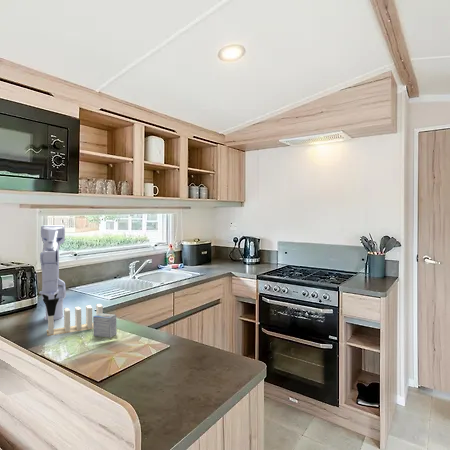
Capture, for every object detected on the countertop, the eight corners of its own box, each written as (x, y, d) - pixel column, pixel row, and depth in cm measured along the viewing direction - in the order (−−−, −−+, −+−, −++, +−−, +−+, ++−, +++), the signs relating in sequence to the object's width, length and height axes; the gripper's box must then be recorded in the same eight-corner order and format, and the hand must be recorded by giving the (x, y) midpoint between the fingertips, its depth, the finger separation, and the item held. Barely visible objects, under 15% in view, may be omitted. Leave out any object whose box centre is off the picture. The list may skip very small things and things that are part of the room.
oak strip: (46, 332, 139) (46, 330, 139) (106, 322, 151) (106, 320, 151) (47, 338, 132) (47, 336, 132) (110, 327, 144) (110, 325, 144)
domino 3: (75, 326, 143) (75, 307, 143) (79, 325, 144) (79, 306, 144) (76, 330, 139) (76, 309, 139) (81, 329, 140) (81, 309, 140)
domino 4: (86, 324, 145) (85, 305, 145) (90, 324, 146) (90, 305, 146) (87, 328, 141) (87, 308, 141) (92, 327, 142) (92, 307, 142)
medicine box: (117, 335, 135) (116, 314, 134) (110, 339, 130) (110, 317, 130) (100, 333, 137) (99, 312, 137) (93, 337, 133) (92, 316, 132)
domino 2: (64, 328, 141) (63, 308, 141) (69, 327, 142) (68, 307, 142) (65, 331, 137) (65, 311, 136) (70, 331, 138) (69, 310, 137)
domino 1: (48, 330, 138) (47, 310, 138) (53, 330, 139) (52, 309, 139) (48, 334, 134) (48, 313, 133) (53, 333, 135) (53, 313, 134)
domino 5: (96, 323, 148) (96, 304, 147) (100, 322, 148) (100, 303, 148) (98, 326, 143) (98, 306, 143) (103, 325, 144) (102, 306, 144)
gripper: (38, 278, 140) (39, 310, 140) (39, 284, 127) (40, 319, 128) (57, 276, 143) (57, 307, 144) (59, 282, 131) (60, 316, 131)
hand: (50, 313), depth 136 cm, fingers open, 7 cm apart
